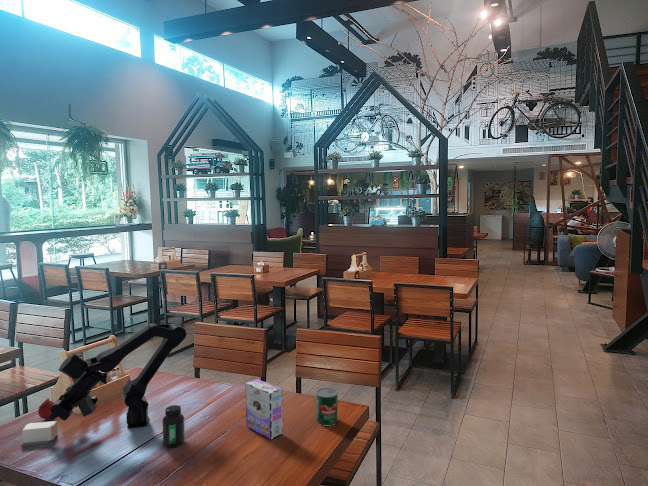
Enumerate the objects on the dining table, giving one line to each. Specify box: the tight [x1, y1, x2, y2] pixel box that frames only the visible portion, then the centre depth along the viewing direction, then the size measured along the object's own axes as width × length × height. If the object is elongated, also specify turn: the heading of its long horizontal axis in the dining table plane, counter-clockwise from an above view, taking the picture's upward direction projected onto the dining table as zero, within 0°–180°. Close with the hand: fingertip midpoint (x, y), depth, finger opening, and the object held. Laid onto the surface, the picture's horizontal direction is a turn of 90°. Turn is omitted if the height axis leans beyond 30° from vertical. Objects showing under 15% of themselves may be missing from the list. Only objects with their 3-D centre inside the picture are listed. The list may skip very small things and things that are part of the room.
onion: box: [37, 397, 55, 421], centre depth 167 cm, size 6×6×8 cm
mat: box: [21, 440, 52, 447], centre depth 153 cm, size 8×7×1 cm
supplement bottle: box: [162, 404, 186, 449], centre depth 151 cm, size 7×7×12 cm
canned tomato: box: [315, 387, 339, 426], centre depth 166 cm, size 8×8×11 cm
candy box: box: [245, 378, 284, 440], centre depth 159 cm, size 14×6×16 cm, turn 47°
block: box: [21, 420, 59, 444], centre depth 153 cm, size 4×4×9 cm
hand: (50, 419), depth 153 cm, fingers closed
